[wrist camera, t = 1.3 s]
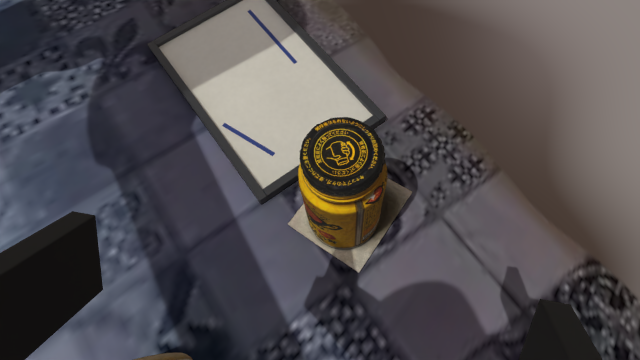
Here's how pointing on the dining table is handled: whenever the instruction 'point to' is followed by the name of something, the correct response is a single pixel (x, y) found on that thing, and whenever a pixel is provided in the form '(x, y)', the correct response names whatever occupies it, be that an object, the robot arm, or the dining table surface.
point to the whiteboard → (259, 87)
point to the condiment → (346, 190)
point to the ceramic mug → (167, 357)
